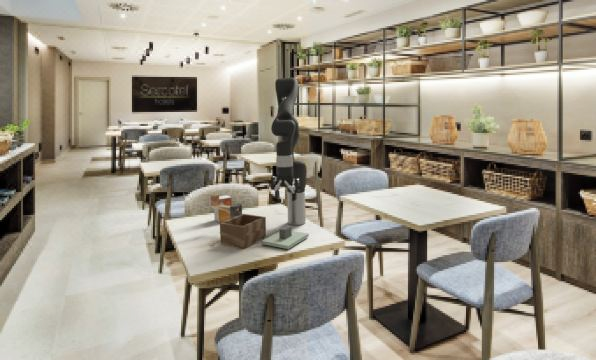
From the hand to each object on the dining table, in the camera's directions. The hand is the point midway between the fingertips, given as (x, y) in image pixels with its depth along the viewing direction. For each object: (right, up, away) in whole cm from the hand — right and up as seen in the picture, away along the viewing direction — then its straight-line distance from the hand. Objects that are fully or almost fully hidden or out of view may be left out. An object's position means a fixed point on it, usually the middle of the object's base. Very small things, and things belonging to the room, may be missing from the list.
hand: (285, 199), depth 193 cm
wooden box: (-21, -19, +7) cm, 29 cm away
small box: (-35, -13, +39) cm, 54 cm away
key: (-31, -5, +16) cm, 35 cm away
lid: (0, -19, +4) cm, 19 cm away
